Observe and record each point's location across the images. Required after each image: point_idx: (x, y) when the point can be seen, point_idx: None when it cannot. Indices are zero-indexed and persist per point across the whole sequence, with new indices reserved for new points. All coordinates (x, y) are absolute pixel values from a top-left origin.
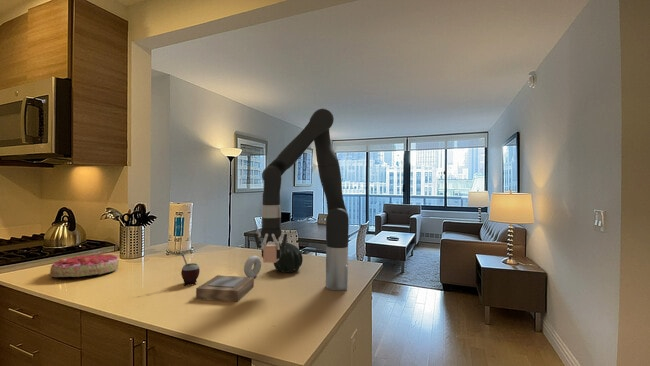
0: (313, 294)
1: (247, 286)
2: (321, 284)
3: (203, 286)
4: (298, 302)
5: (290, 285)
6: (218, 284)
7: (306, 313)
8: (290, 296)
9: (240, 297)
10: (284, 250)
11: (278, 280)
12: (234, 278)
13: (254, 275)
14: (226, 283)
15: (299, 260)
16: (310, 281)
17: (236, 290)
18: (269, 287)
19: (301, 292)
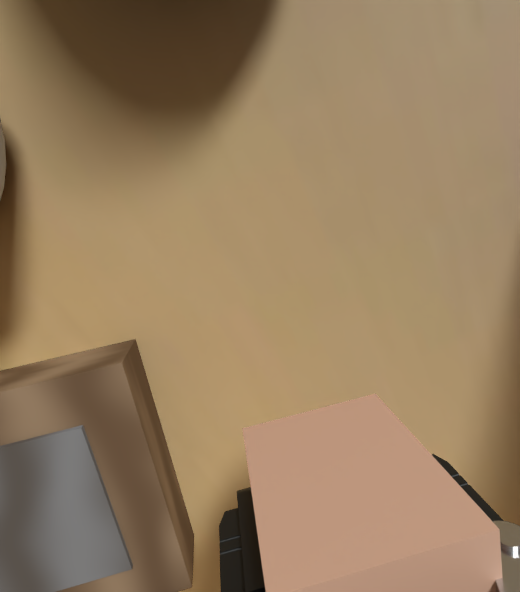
0: (497, 306)
1: (157, 452)
2: (510, 130)
3: None
4: (455, 422)
5: (336, 222)
6: (11, 582)
7: (511, 496)
8: (397, 376)
9: (185, 516)
10: None
11: (216, 155)
12: (15, 457)
13: (4, 174)
14: (45, 550)
15: None
16: (432, 94)
17: (180, 586)
18: (231, 305)
19: (433, 304)
